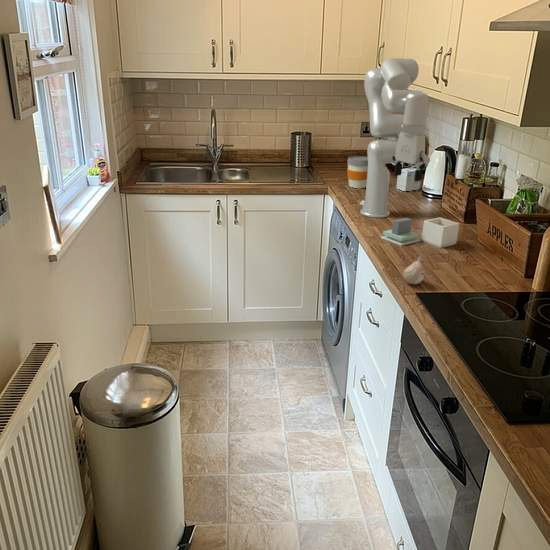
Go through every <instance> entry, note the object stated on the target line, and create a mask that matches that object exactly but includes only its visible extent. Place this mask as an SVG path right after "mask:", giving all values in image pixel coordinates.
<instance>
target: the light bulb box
mask: <svg viewBox="0 0 550 550" xmlns="http://www.w3.org/2000/svg"><path fill="white" fill-rule="evenodd" d="M416 170H417V168H416V167H407V168H402V172H401V175H398V176H397V178H396V188H397V189H400V190H402V191H410V192H412V191H411V190H416V189H419V190H420V186H421V181H414V177H415V171H416ZM396 188H395V189H396ZM402 191H401V192H402ZM416 191H417V190H416Z"/></svg>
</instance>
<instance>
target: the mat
mask: <svg viewBox="0 0 550 550" xmlns="http://www.w3.org/2000/svg"><path fill="white" fill-rule="evenodd" d="M380 239H383V240H384V241H387V242H390V243H393V244H395V245H397V246H406V245H409V244H414V243H418V242H421V239H419V238H418V237H417V238H414V239H412V240H408V241H404V242H399V241H396V240H394V239H391V238H388V236H386V235H382V236H380Z"/></svg>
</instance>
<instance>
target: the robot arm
mask: <svg viewBox="0 0 550 550" xmlns="http://www.w3.org/2000/svg"><path fill="white" fill-rule="evenodd" d="M418 75H419V64H418V62H417V61H416V60H415V59H413V58H400V57H399V58H398V57H396V58H395V57H393V58H388V59H386V60H384V61H383V62H382V63H381V65H380V68H373V69H370V70H368V71H367V72H366V73H365V76H364V82H363V83H364V92H365V93H364V94H365V96H366V99H367V101H368V107H369V112H368V113H369V131H370V135H371V136H372V137H375V138H384V139H376V140H375V139H374V140H372V141H371V142H369V144H368V145H367V153H366V154H367V157H368V173H367V185H366V189H365V197H364V198H365V199H364V200H361V201H360V202H359V206H361V207H362V208H361V209H360V211H359V212H360V214H361V215H363V216H365V217H370V218H386V217H389V216H390V214H391V211H389V210H388V209H387V208H388V201H389V200H388V199H389V197H388V196H389V190H390V189H389V188H390V182H391V181H390V180H391V179H390V178H391V173H390V170H389V169H388V167H387V166H386V165H387V164H393V165H394V170H393V171H394V172H393V176H394V177H395V176H396V177H398V175H401V172H402V169H403V164H405V163H406V164H411V165H414V166H415V168H417V170H416V171H415V177H414V181H420V182H421V181H422V179H423V173H424V170H425V169H426V168H427V167H428V165H429V163H430V162H431V158H430V157H429V156H428V155H427V154H426V153H425V152H426V135H425V128H426V120H427V114H428V105H429V95H428V94H427V93H424V92H423V91H421V90H414V89H413V90H411V89H409V87H410V86H411V85H412V84H413V83H414V82H416V81H417V78H418ZM391 112H392V113H391ZM395 113H397V114H395ZM399 113H404V114H399ZM386 138H390V139H386ZM393 138H394V139H393Z"/></svg>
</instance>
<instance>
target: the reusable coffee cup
mask: <svg viewBox="0 0 550 550" xmlns="http://www.w3.org/2000/svg"><path fill="white" fill-rule="evenodd" d="M346 163H347V168H346V169H347V173H346V174H347V178H348V187H349V186H350V187H354V188H365V187H366V185H367V173H368V156H363V155H362V156H361V155H353V156H348V158H347V162H346Z"/></svg>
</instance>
